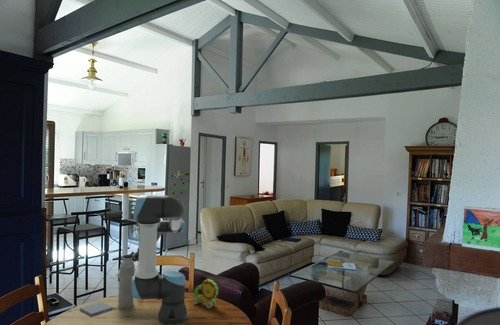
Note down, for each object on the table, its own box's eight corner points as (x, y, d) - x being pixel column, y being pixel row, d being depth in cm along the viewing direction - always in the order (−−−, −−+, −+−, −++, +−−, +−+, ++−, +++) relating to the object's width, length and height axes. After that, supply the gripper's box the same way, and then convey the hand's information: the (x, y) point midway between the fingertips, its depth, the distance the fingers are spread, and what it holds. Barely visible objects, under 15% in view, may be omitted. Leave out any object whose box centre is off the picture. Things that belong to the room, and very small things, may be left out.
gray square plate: (112, 309, 186) (112, 307, 186) (91, 316, 176) (91, 313, 176) (100, 303, 193) (101, 301, 193) (79, 310, 183) (80, 307, 183)
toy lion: (191, 304, 197) (192, 277, 197) (197, 301, 202) (198, 275, 202) (214, 310, 189) (215, 282, 190) (219, 307, 194) (220, 280, 194)
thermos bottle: (122, 302, 197) (124, 253, 198) (135, 303, 196) (137, 254, 197) (115, 307, 189) (117, 256, 190) (129, 308, 188) (131, 257, 189)
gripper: (164, 253, 203) (145, 285, 189) (134, 248, 214) (113, 278, 201) (159, 246, 199) (138, 278, 185) (128, 241, 210) (106, 271, 196)
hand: (125, 278), depth 193 cm, fingers open, 13 cm apart
